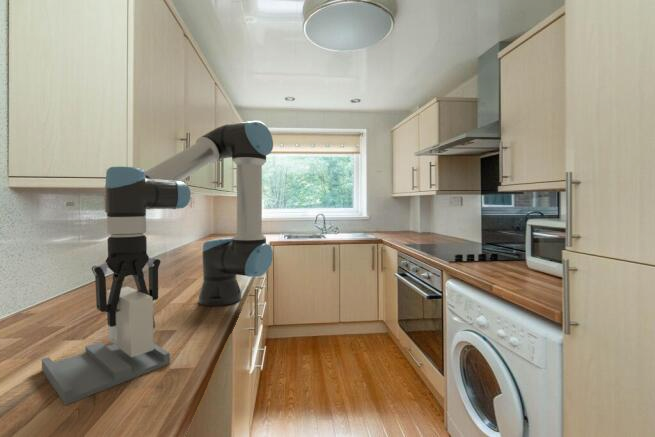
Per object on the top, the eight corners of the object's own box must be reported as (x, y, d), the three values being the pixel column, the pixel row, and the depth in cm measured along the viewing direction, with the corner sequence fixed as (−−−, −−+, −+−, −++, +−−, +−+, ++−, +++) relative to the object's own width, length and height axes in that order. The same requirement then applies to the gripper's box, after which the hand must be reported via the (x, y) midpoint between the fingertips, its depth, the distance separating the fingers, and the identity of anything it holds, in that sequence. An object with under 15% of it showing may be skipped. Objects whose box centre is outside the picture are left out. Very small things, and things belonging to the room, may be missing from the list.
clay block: (129, 333, 78) (128, 286, 78) (153, 349, 69) (152, 296, 69) (108, 339, 74) (106, 290, 74) (131, 357, 66) (129, 301, 65)
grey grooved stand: (135, 340, 82) (135, 331, 81) (169, 363, 70) (169, 352, 70) (42, 370, 67) (41, 359, 67) (65, 405, 55) (64, 391, 55)
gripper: (159, 231, 80) (161, 320, 81) (74, 237, 66) (78, 344, 67) (173, 233, 75) (175, 327, 76) (85, 239, 62) (88, 354, 63)
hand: (130, 335), depth 72 cm, fingers closed on clay block, 4 cm apart
